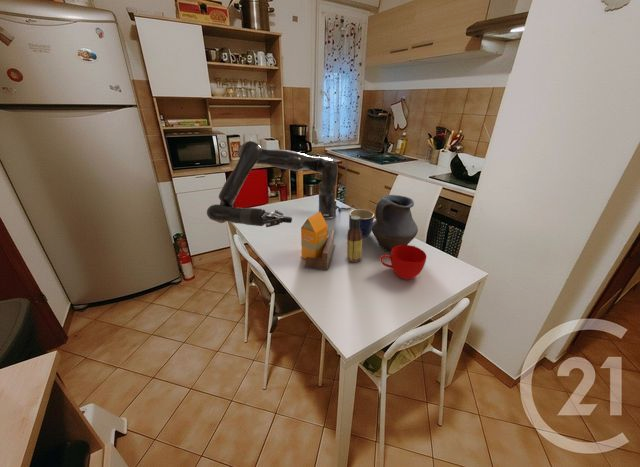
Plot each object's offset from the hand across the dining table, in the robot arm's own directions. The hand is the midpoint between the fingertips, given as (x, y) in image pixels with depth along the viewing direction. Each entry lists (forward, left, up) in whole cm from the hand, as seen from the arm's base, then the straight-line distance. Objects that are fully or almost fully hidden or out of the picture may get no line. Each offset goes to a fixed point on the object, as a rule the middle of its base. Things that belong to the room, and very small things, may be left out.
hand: (291, 219), depth 111 cm
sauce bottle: (-21, +18, -16) cm, 32 cm away
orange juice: (-7, +7, -17) cm, 19 cm away
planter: (-38, 0, -17) cm, 42 cm away
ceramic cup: (-30, +36, -17) cm, 50 cm away
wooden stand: (-10, +9, -16) cm, 21 cm away
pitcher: (-42, +18, -17) cm, 49 cm away
